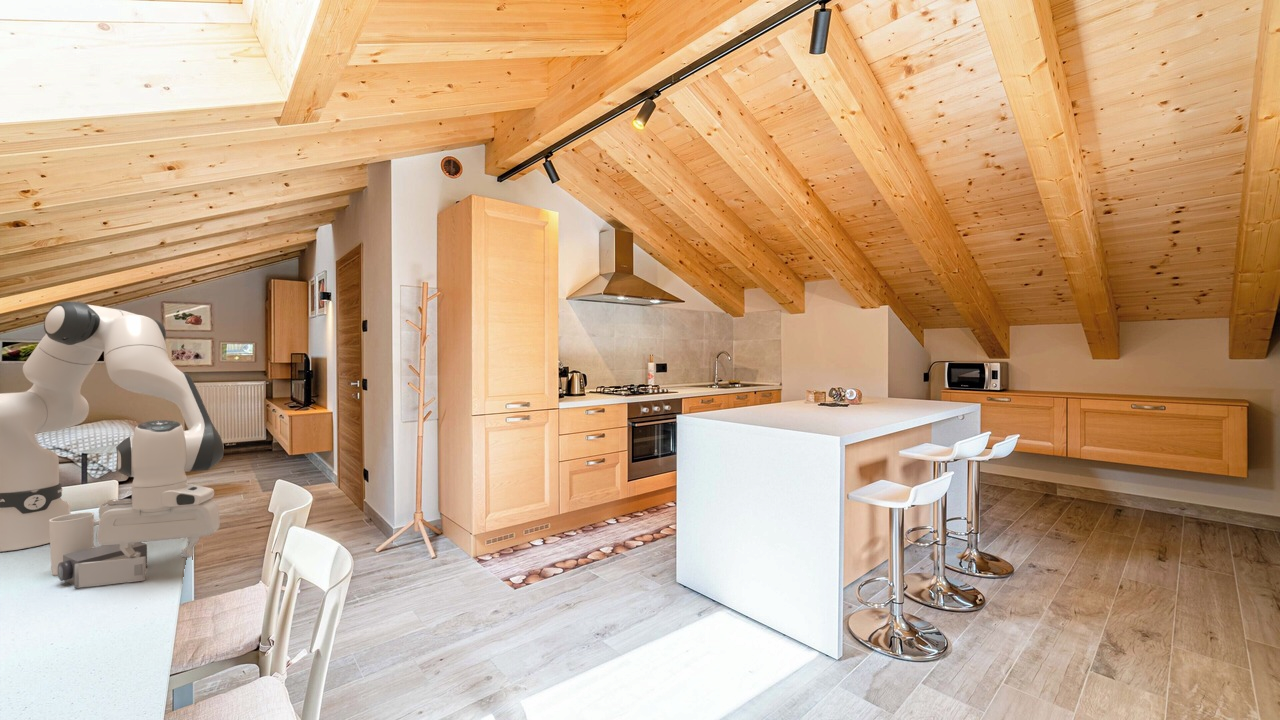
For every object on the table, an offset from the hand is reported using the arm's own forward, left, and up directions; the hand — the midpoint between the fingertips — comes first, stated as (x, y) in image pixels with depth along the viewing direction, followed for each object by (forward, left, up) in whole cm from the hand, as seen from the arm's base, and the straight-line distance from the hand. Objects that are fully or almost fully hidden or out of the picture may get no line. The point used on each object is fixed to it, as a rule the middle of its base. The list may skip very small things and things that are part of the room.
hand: (161, 559), depth 112 cm
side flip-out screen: (-4, -7, -3) cm, 9 cm away
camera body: (-13, -5, -4) cm, 14 cm away
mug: (-22, -6, -4) cm, 23 cm away
